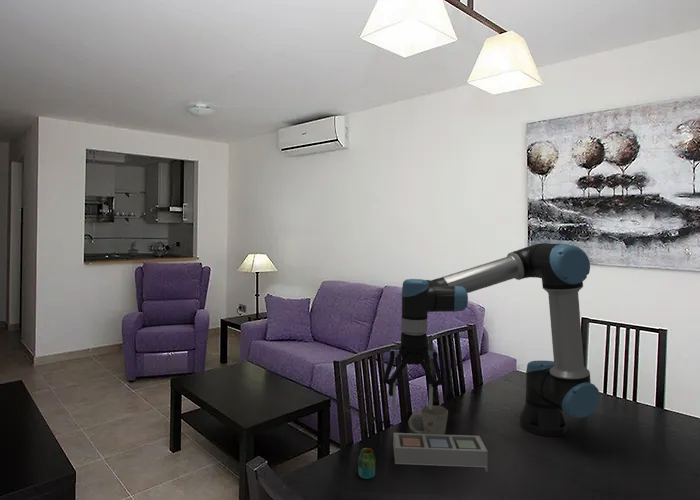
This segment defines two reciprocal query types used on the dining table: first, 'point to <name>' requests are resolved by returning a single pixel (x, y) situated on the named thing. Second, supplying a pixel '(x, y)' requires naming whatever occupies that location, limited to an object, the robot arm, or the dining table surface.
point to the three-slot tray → (440, 451)
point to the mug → (431, 420)
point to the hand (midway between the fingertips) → (412, 407)
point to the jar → (366, 464)
